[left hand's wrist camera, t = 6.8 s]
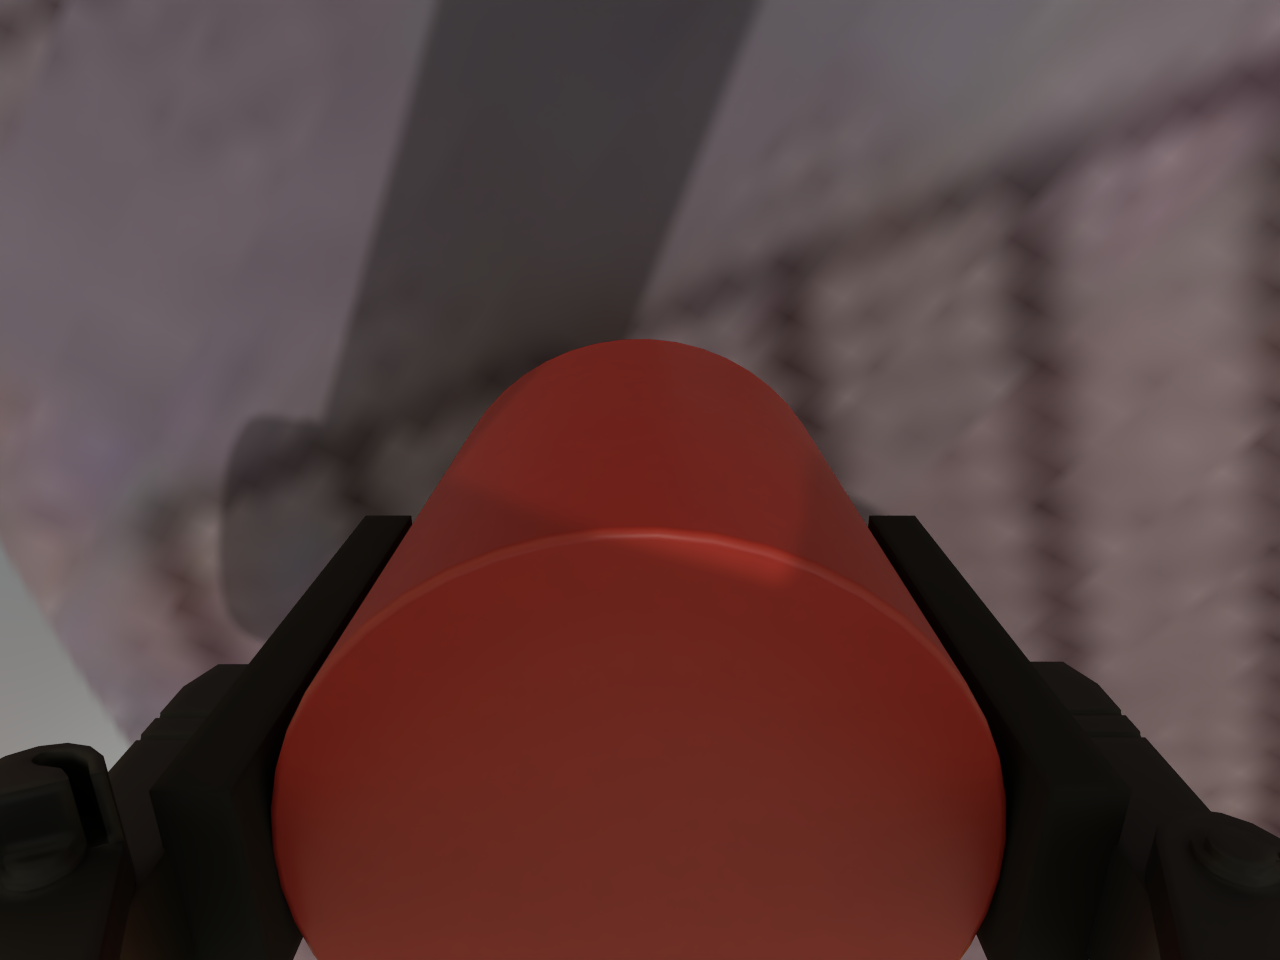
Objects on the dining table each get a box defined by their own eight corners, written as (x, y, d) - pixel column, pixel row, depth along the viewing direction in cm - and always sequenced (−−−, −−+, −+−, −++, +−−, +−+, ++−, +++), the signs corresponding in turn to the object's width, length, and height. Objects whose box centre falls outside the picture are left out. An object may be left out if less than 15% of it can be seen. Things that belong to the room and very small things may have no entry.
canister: (385, 575, 17) (153, 947, 9) (575, 257, 15) (498, 365, 7) (690, 739, 19) (730, 1189, 10) (905, 471, 16) (1172, 776, 8)
